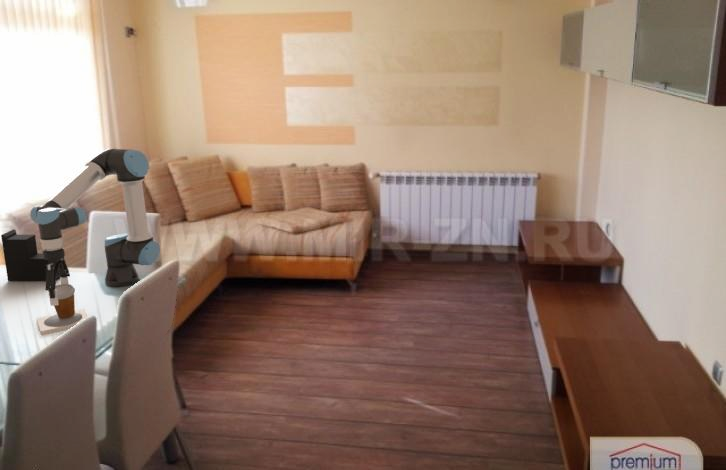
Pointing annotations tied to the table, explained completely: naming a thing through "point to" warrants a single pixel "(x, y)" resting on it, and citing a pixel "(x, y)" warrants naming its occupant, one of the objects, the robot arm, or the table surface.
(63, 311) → the disposable coffee cup
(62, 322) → the carrier board
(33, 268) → the bookend
